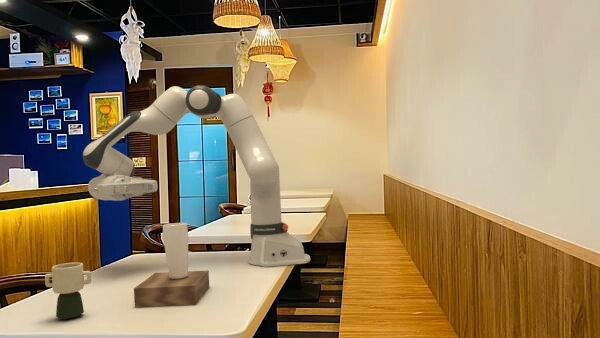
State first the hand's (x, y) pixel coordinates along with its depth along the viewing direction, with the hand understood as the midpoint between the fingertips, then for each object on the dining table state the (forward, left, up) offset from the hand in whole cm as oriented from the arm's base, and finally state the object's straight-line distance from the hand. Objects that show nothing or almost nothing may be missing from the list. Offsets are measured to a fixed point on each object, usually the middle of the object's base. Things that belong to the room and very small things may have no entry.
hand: (140, 187), depth 161 cm
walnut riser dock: (-16, +24, -30) cm, 42 cm away
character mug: (+6, +39, -30) cm, 50 cm away
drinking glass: (-18, +23, -25) cm, 38 cm away
